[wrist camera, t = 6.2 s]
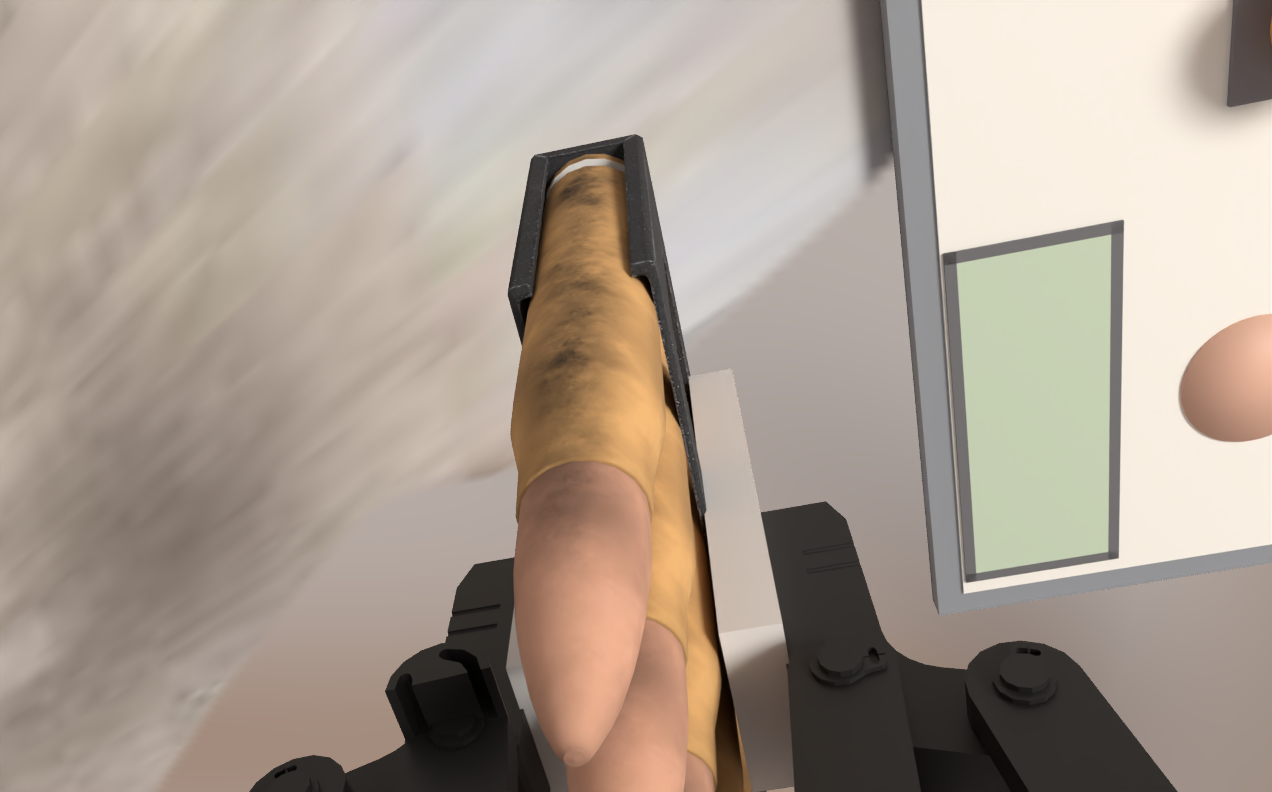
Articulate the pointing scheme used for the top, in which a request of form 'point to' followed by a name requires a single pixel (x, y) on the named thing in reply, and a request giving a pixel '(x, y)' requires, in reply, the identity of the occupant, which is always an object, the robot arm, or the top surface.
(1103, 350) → the board
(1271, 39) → the button
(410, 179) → the top surface
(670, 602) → the ammunition clip
